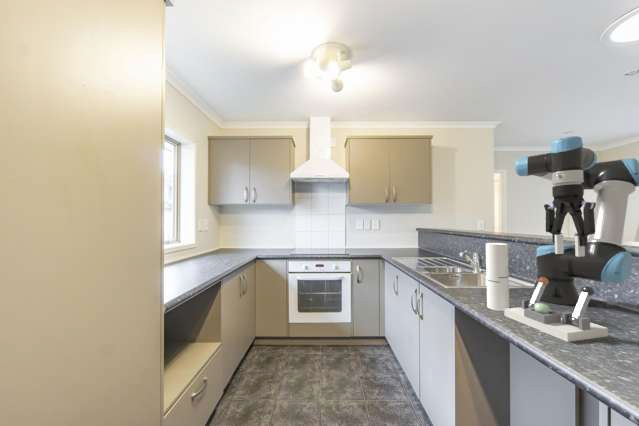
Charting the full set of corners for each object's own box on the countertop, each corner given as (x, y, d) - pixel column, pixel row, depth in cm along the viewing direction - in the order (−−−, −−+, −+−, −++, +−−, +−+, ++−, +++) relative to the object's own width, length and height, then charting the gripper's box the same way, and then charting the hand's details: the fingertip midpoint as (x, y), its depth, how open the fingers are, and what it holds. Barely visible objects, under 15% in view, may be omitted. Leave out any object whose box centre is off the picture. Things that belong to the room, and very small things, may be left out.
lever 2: (571, 324, 79) (586, 287, 81) (583, 328, 77) (598, 290, 78) (565, 320, 79) (580, 283, 80) (576, 324, 76) (592, 286, 78)
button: (540, 311, 86) (540, 302, 86) (552, 315, 82) (552, 306, 82) (531, 312, 85) (531, 303, 85) (543, 316, 81) (543, 307, 81)
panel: (538, 312, 96) (538, 296, 96) (607, 336, 76) (607, 316, 76) (504, 315, 93) (504, 299, 93) (567, 341, 73) (567, 321, 74)
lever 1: (529, 309, 92) (543, 278, 94) (538, 312, 89) (552, 280, 91) (524, 306, 92) (537, 274, 93) (532, 309, 89) (546, 276, 90)
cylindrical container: (513, 311, 97) (511, 244, 97) (492, 310, 98) (490, 244, 98) (503, 305, 104) (502, 242, 104) (484, 304, 105) (482, 242, 105)
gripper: (530, 187, 94) (532, 251, 94) (592, 180, 76) (595, 259, 76) (547, 188, 96) (549, 251, 95) (612, 181, 78) (614, 258, 77)
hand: (569, 254), depth 85 cm, fingers open, 5 cm apart
